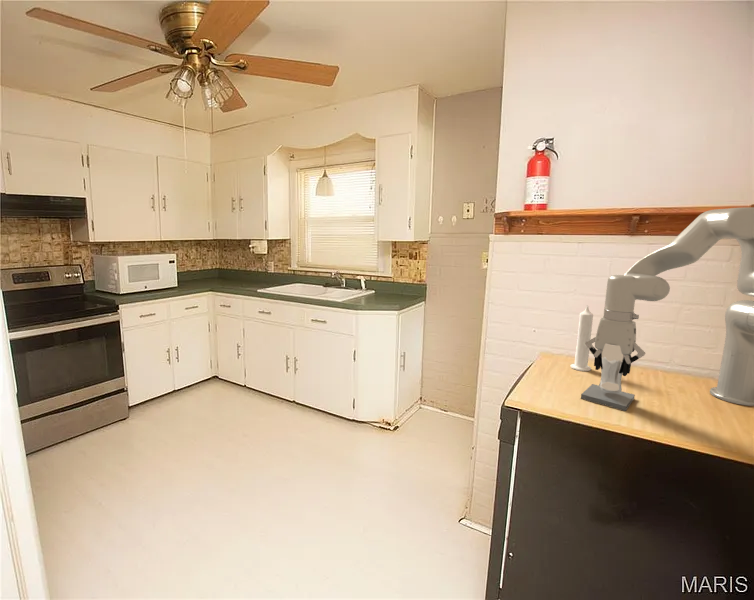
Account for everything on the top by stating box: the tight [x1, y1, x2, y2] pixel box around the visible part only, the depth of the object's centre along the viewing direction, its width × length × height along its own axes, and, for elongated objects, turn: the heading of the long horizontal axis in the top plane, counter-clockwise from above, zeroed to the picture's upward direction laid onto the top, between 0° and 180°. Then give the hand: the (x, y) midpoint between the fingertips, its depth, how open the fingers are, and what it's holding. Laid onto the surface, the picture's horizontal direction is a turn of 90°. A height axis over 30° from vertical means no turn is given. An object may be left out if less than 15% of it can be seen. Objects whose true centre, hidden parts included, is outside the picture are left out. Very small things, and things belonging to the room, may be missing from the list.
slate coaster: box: [580, 383, 636, 412], centre depth 118 cm, size 12×12×2 cm
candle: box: [570, 305, 594, 372], centre depth 144 cm, size 7×7×25 cm
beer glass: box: [599, 343, 626, 392], centre depth 116 cm, size 7×7×15 cm
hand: (611, 371), depth 116 cm, fingers closed on beer glass, 6 cm apart
